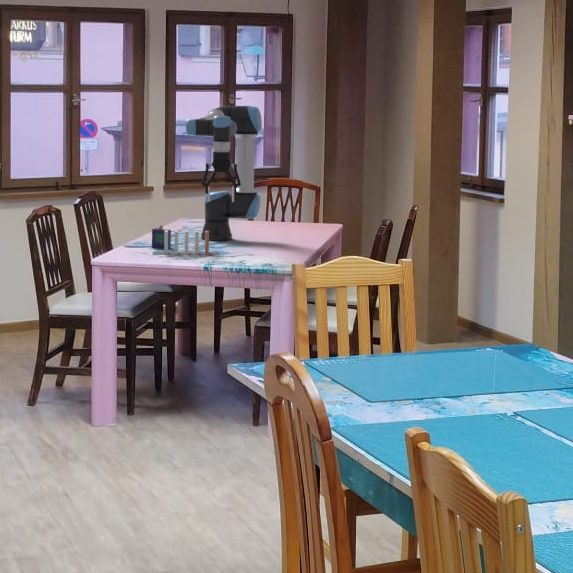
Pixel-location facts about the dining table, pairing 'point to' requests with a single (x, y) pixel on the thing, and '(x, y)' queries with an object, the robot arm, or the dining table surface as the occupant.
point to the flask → (160, 238)
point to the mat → (188, 253)
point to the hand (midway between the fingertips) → (220, 201)
